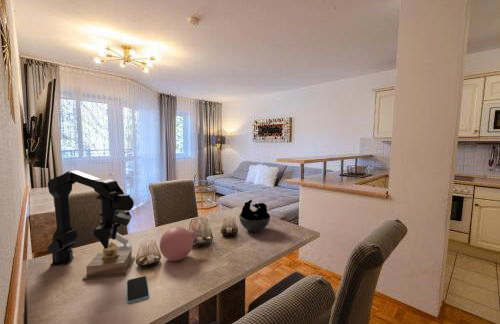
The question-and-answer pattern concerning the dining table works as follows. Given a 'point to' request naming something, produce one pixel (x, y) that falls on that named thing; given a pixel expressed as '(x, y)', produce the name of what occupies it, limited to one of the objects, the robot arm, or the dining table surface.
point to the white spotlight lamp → (123, 243)
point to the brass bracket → (110, 252)
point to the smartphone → (137, 289)
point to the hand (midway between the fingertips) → (110, 243)
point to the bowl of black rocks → (254, 217)
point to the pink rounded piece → (177, 243)
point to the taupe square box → (109, 266)
